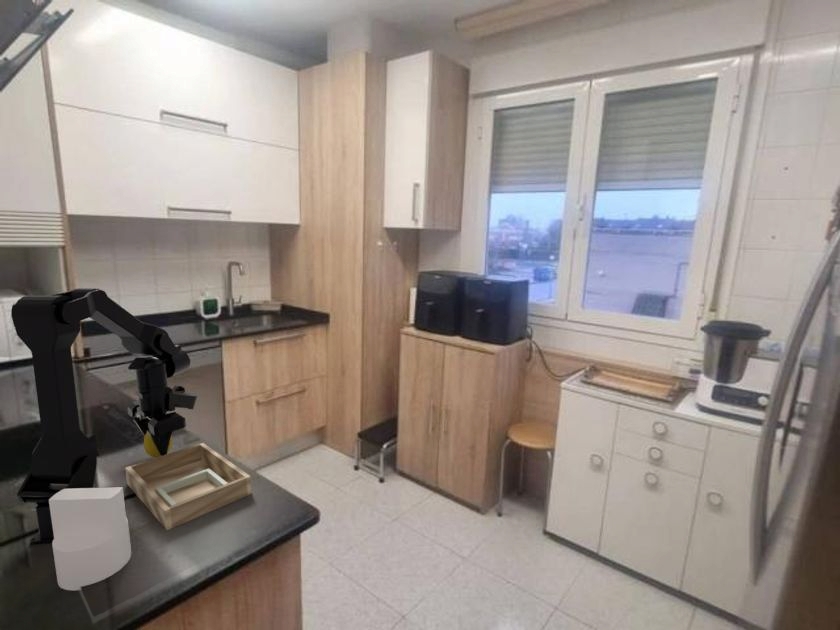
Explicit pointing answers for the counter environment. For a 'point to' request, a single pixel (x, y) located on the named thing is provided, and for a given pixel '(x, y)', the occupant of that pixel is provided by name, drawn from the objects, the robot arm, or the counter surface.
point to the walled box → (190, 497)
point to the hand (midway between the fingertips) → (159, 450)
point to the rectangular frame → (185, 481)
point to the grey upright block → (89, 535)
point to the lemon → (153, 446)
